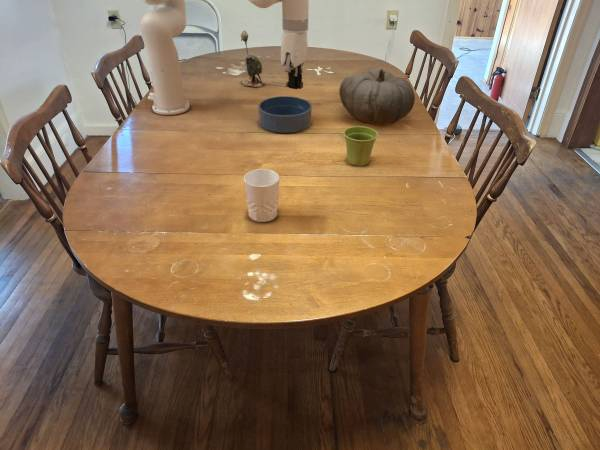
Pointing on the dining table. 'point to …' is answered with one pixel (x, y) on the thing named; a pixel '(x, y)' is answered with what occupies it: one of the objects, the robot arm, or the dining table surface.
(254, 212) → the white cup
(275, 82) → the black knife
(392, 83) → the gourd
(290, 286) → the dining table surface
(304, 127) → the bowl
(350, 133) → the plant pot
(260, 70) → the grey tall irregular piece
